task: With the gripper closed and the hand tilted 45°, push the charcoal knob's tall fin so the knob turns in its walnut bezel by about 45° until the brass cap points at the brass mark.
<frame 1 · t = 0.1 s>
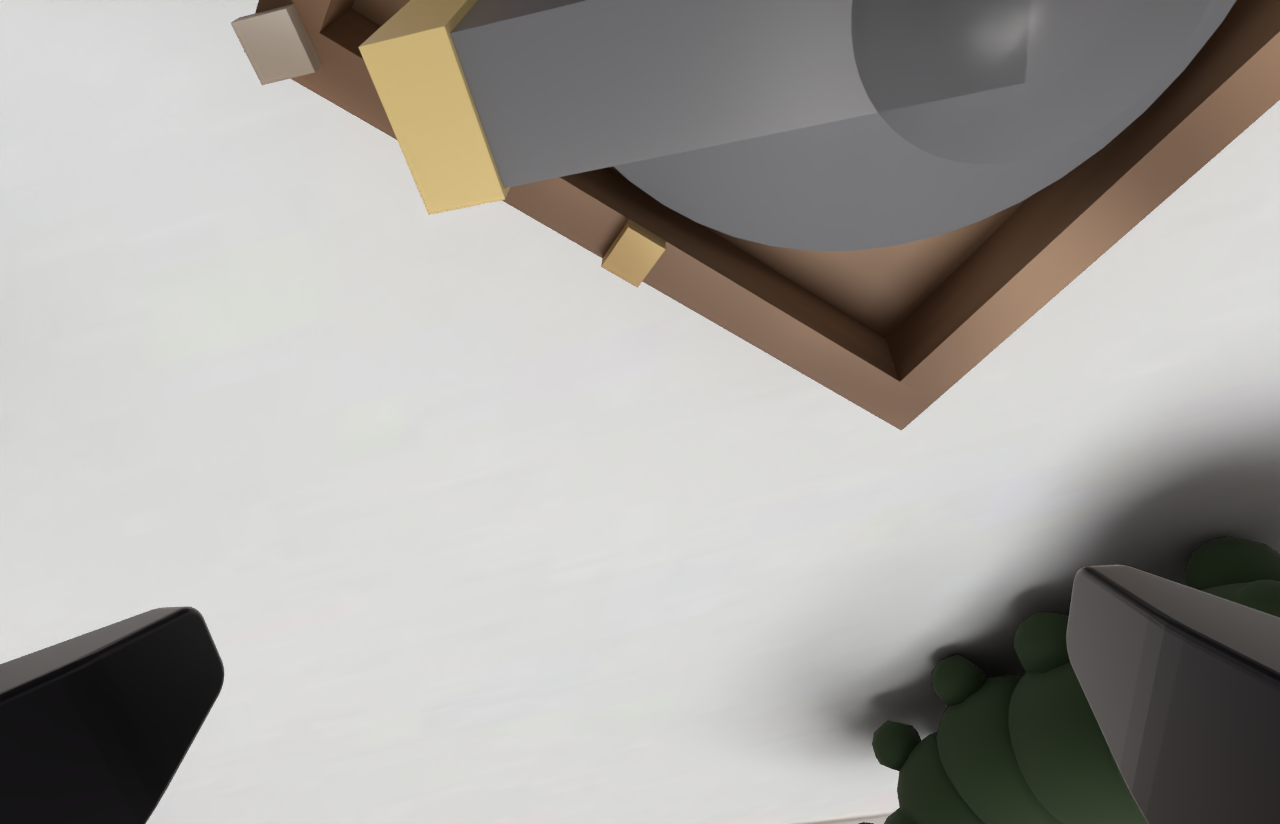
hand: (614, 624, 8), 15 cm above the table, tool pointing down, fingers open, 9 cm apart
toy figurine: (1063, 634, 33), on the table
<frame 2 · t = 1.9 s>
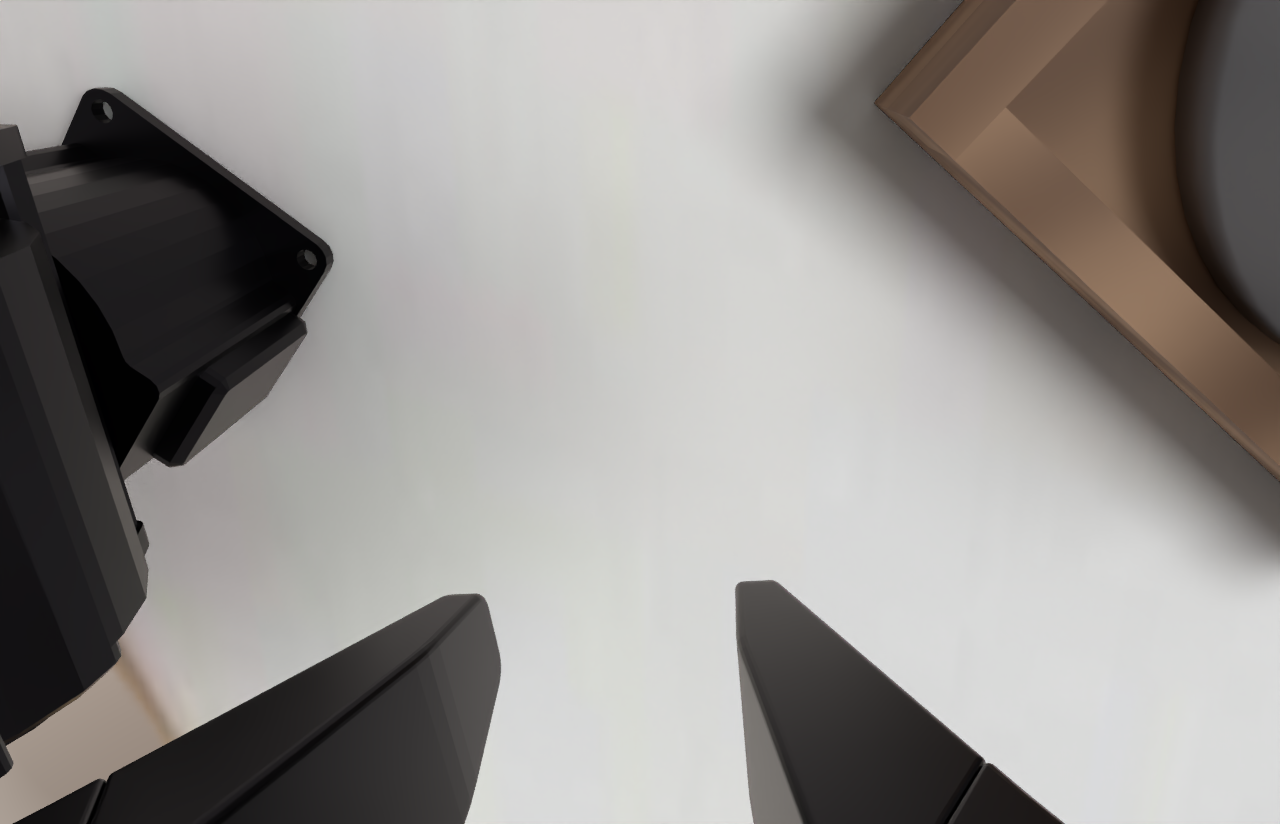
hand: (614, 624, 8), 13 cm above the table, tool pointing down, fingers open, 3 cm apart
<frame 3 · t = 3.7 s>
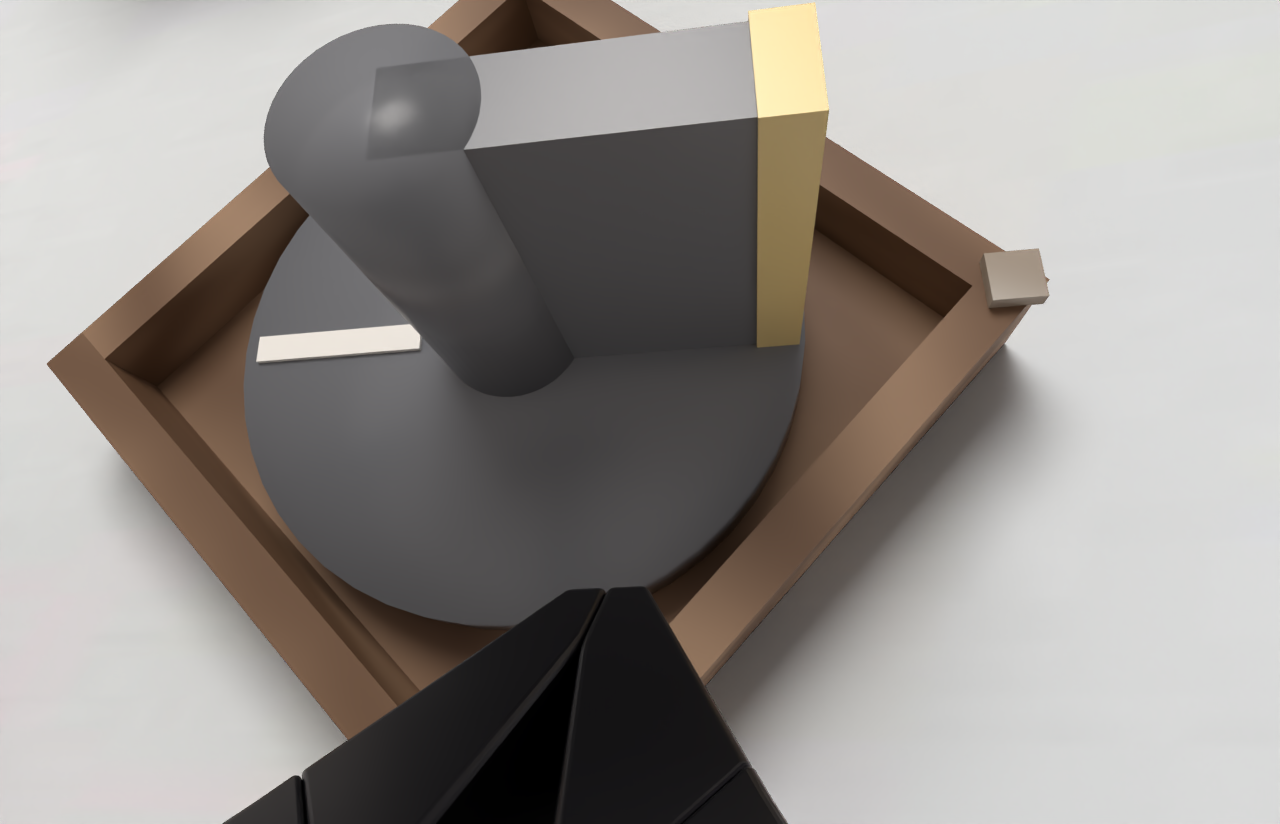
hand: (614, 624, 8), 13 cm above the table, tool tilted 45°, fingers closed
knob: (469, 263, 17), point 7 cm above the table, hinge at 0.0°
dial base: (544, 377, 23), on the table
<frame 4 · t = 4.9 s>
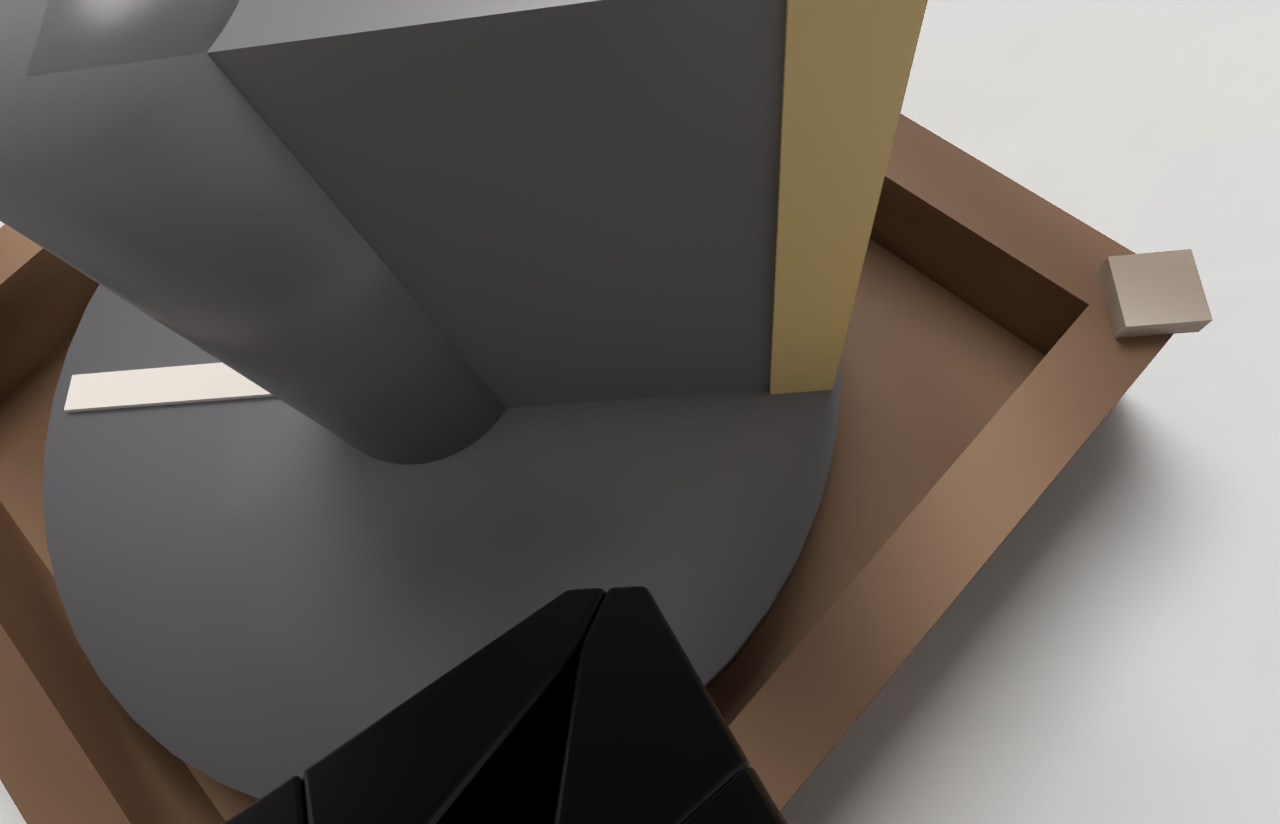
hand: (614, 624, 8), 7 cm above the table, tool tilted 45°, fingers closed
knob: (329, 273, 11), point 6 cm above the table, hinge at 0.0°
dial base: (480, 425, 17), on the table
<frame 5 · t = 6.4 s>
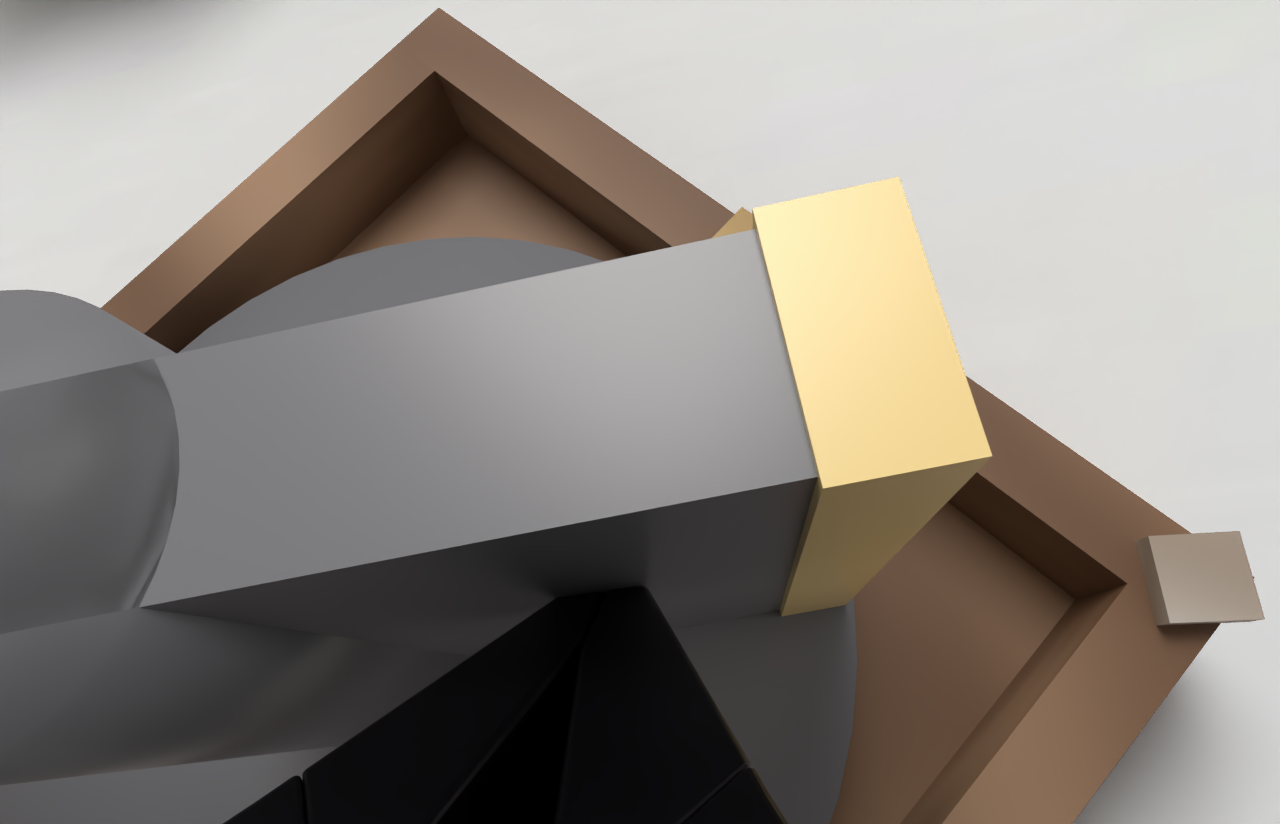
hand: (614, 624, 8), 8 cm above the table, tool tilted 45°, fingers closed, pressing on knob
knob: (296, 596, 10), point 6 cm above the table, hinge at 7.5°, touching gripper
dial base: (469, 634, 16), on the table
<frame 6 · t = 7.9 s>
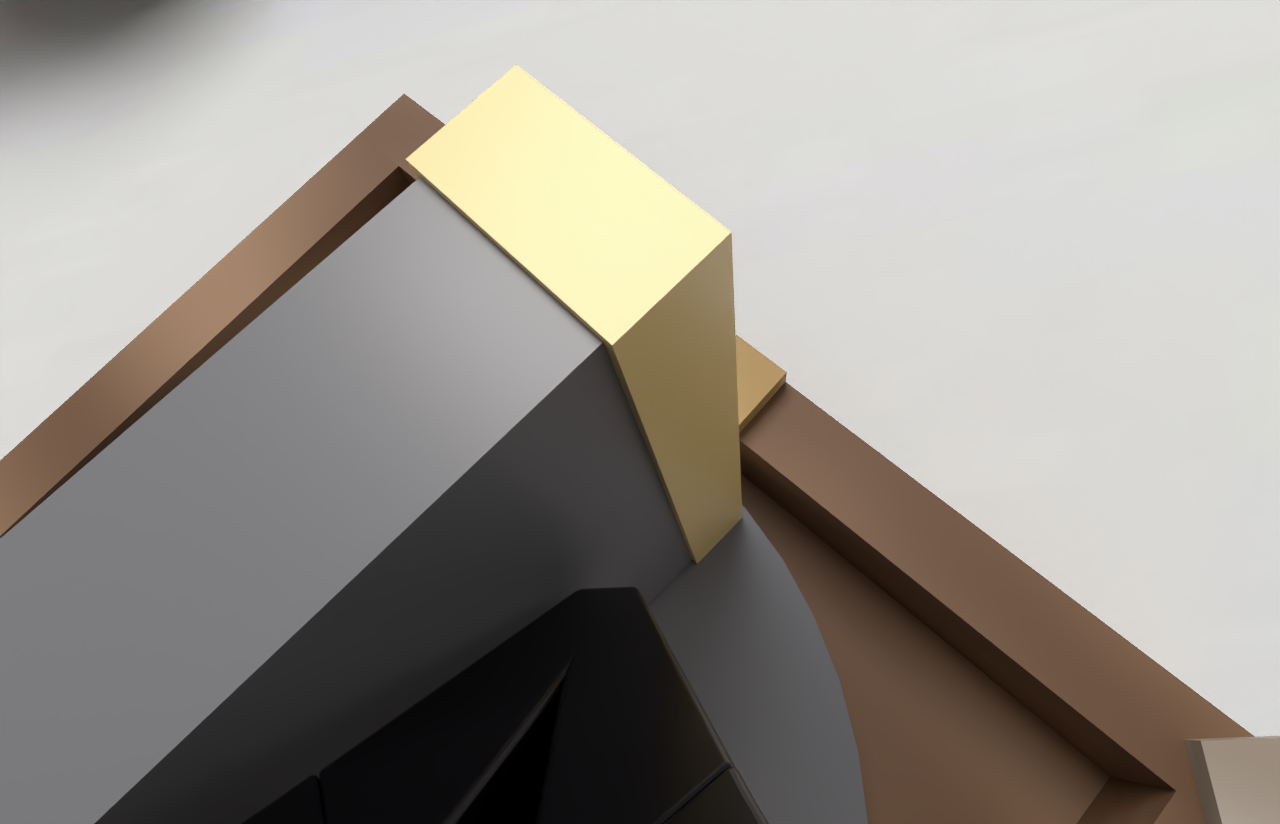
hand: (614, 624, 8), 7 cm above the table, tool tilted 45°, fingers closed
dial base: (439, 788, 15), on the table
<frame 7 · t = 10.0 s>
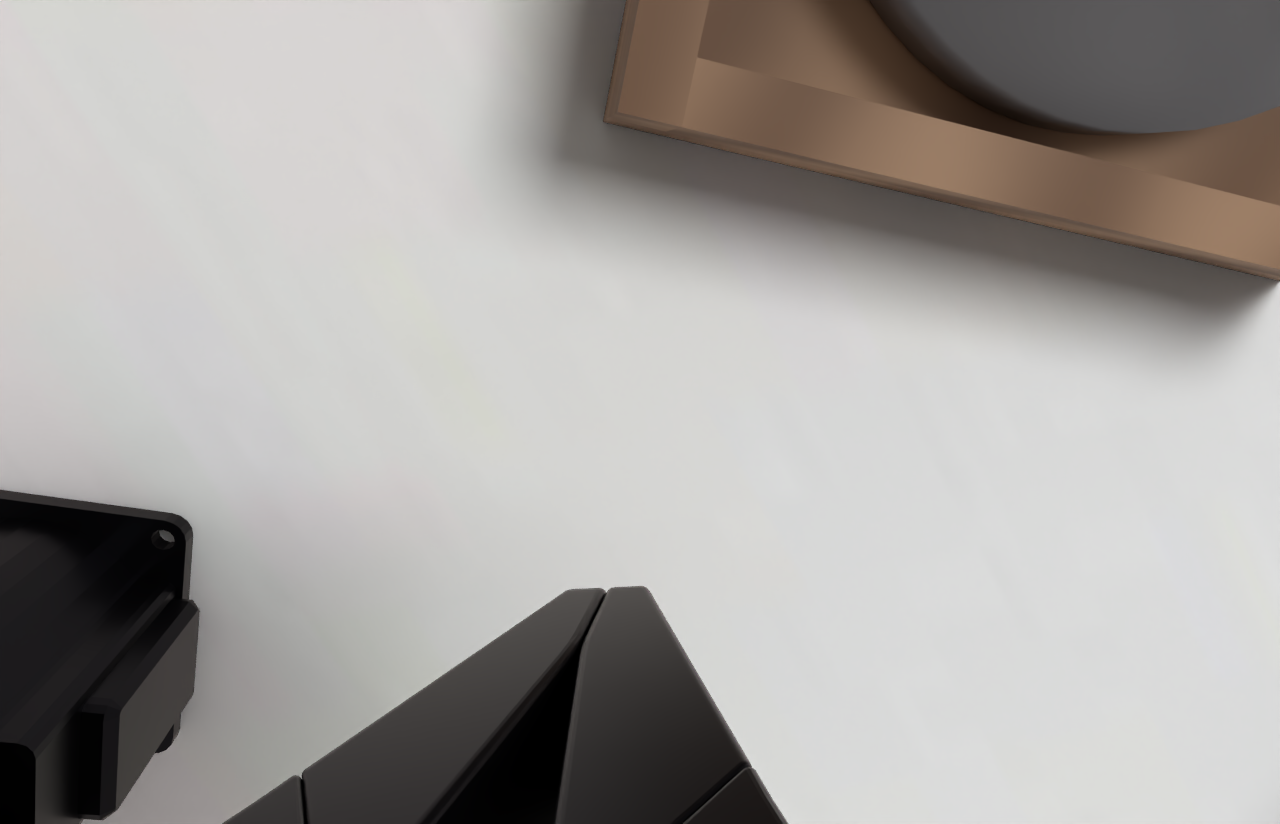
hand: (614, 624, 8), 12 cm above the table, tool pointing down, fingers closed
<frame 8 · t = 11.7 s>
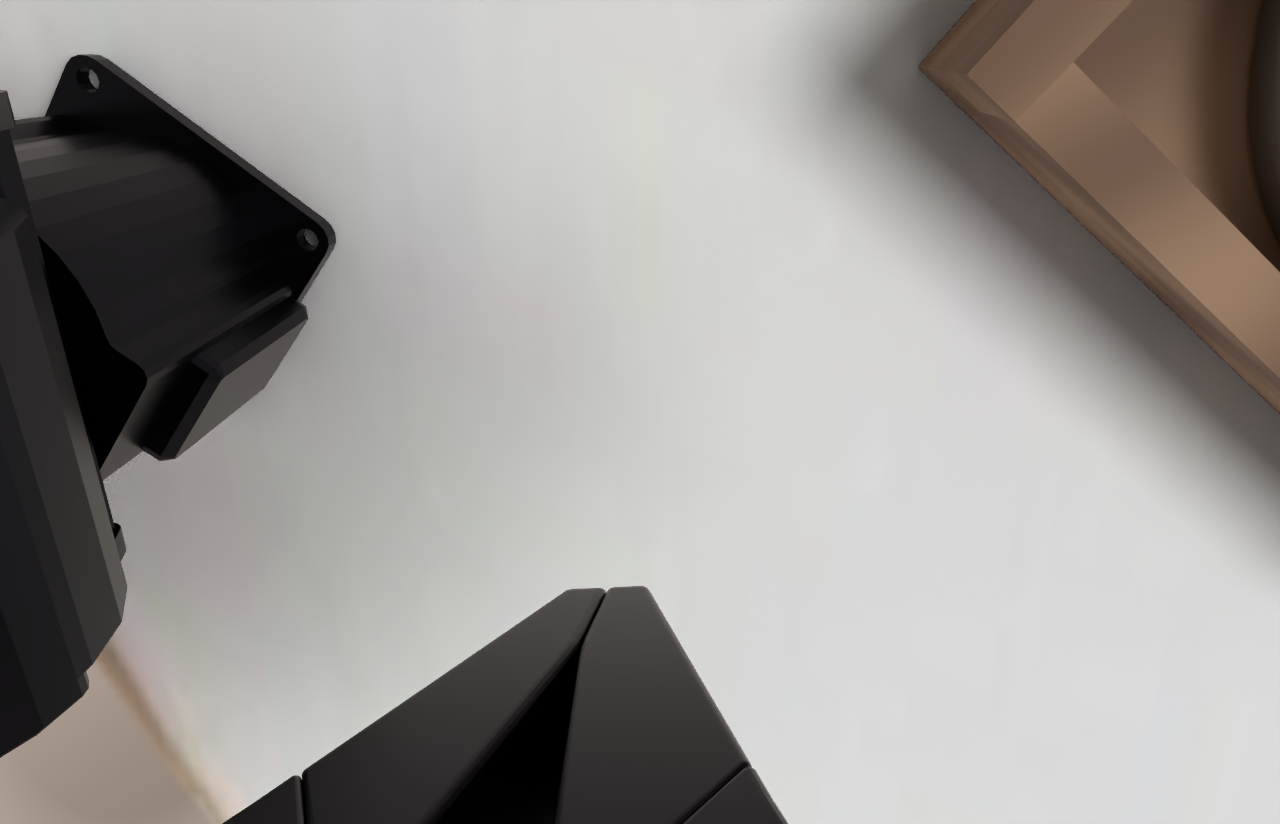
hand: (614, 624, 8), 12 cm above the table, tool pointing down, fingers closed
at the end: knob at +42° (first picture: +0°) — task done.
